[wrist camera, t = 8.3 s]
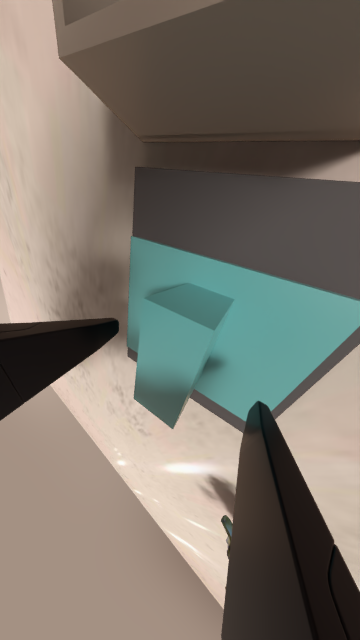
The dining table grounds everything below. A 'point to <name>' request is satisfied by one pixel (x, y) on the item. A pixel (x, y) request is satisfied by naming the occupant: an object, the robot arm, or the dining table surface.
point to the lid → (224, 330)
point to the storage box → (219, 66)
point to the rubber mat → (258, 237)
